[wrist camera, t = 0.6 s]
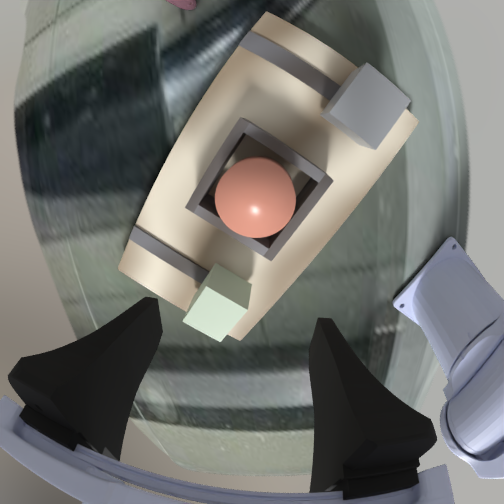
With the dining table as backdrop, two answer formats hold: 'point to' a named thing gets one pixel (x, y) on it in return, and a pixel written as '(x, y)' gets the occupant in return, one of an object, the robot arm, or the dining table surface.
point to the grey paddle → (366, 106)
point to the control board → (257, 144)
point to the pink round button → (255, 197)
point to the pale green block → (218, 303)
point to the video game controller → (184, 4)
